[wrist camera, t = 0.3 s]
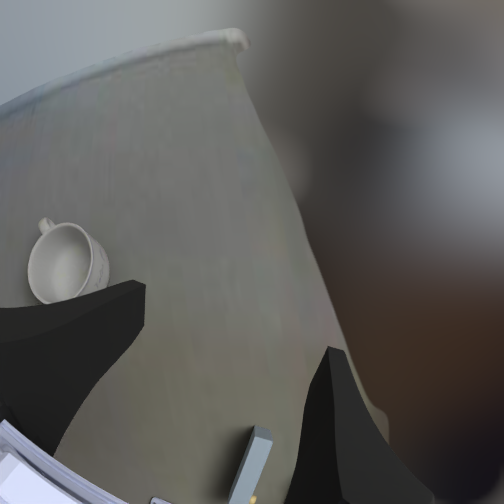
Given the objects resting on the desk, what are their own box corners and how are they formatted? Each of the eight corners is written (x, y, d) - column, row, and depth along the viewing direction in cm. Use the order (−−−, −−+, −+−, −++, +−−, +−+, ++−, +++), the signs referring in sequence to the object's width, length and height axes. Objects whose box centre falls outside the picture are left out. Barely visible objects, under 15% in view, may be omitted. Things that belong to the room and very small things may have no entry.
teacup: (128, 296, 42) (103, 281, 34) (66, 327, 40) (34, 318, 32) (100, 215, 46) (77, 189, 38) (45, 246, 44) (17, 226, 37)
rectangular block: (250, 496, 33) (250, 517, 26) (229, 490, 33) (225, 510, 27) (276, 431, 36) (280, 443, 30) (254, 425, 36) (254, 436, 30)
